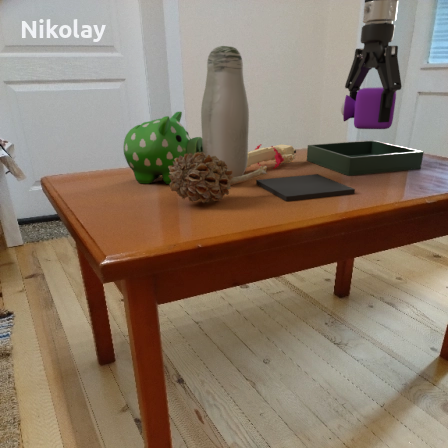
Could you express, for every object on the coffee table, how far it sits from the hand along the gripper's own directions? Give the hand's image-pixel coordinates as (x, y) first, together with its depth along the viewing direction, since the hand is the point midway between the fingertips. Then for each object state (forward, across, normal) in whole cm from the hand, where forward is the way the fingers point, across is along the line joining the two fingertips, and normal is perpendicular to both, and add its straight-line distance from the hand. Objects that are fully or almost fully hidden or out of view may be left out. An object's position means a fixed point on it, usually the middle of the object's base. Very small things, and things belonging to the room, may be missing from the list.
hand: (367, 120), depth 114 cm
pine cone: (+11, +20, -47) cm, 52 cm away
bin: (+11, 0, 0) cm, 11 cm away
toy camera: (+2, 0, 0) cm, 2 cm away
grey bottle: (+11, +6, -41) cm, 43 cm away
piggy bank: (+11, -2, -54) cm, 55 cm away
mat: (+11, +18, -27) cm, 34 cm away
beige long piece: (+11, -6, -27) cm, 30 cm away
